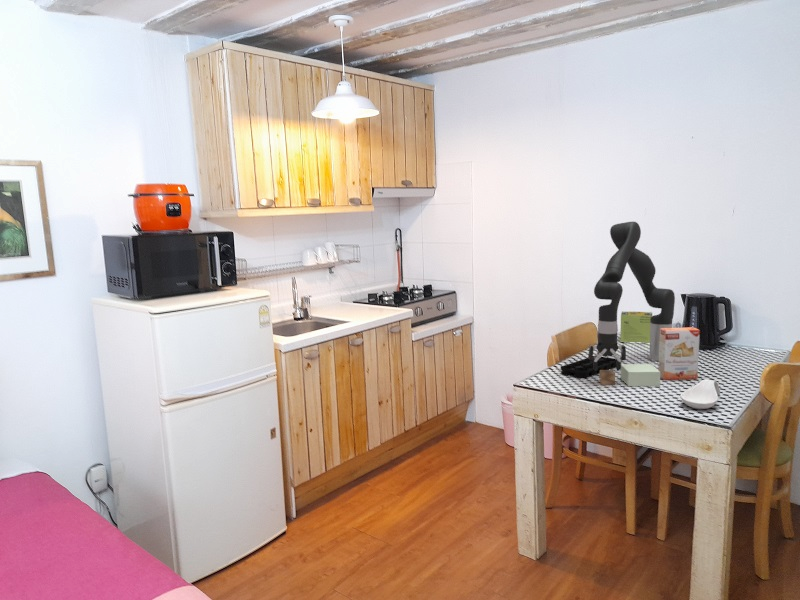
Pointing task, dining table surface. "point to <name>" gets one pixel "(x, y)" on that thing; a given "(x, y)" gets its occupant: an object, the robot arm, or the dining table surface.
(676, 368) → the cracker box
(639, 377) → the stacking base
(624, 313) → the protein box
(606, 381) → the walnut cube
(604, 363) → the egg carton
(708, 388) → the spoon rest
